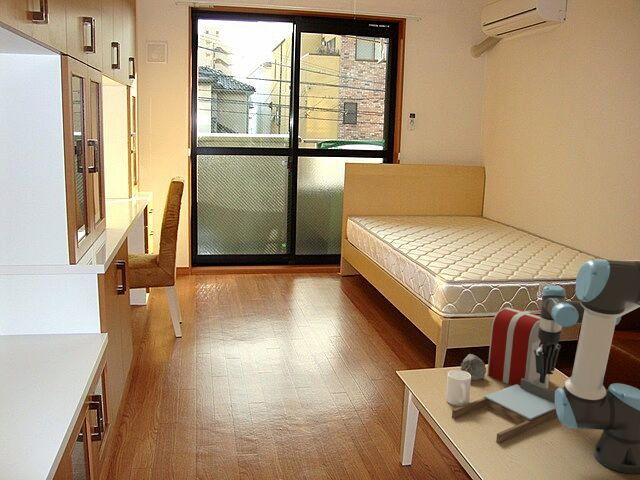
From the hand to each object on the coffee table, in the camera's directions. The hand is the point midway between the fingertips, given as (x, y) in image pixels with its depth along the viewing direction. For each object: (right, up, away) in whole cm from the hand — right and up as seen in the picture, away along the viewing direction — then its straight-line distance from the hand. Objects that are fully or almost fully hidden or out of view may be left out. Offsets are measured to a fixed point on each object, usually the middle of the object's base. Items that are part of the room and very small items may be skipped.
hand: (543, 390), depth 228 cm
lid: (-9, -3, -6) cm, 12 cm away
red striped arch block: (-3, 0, +22) cm, 22 cm away
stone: (-21, 0, +22) cm, 30 cm away
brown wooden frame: (-16, -7, -10) cm, 20 cm away
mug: (-31, -5, -1) cm, 31 cm away
